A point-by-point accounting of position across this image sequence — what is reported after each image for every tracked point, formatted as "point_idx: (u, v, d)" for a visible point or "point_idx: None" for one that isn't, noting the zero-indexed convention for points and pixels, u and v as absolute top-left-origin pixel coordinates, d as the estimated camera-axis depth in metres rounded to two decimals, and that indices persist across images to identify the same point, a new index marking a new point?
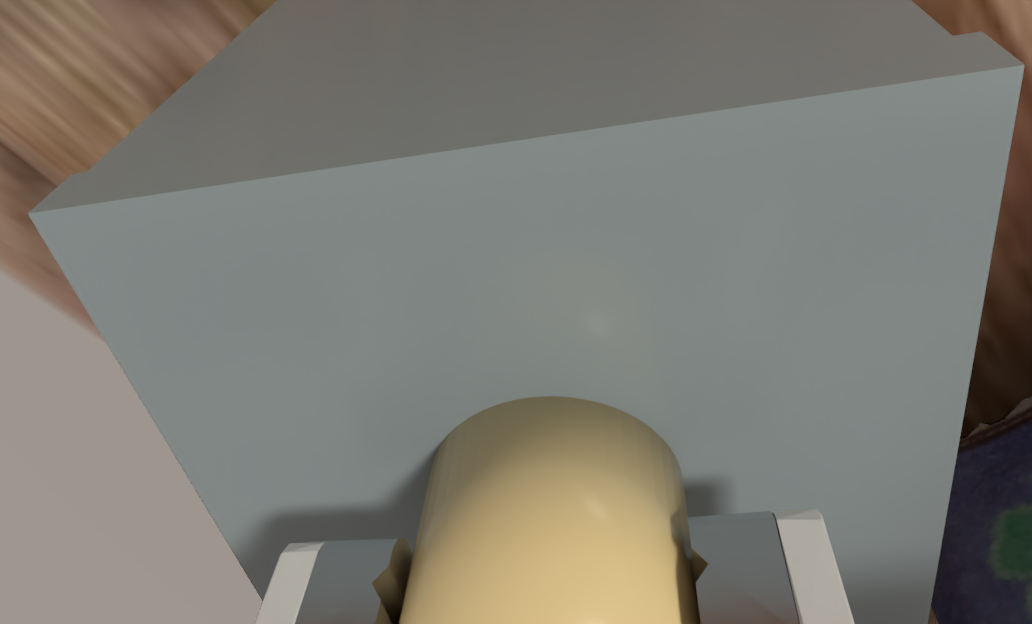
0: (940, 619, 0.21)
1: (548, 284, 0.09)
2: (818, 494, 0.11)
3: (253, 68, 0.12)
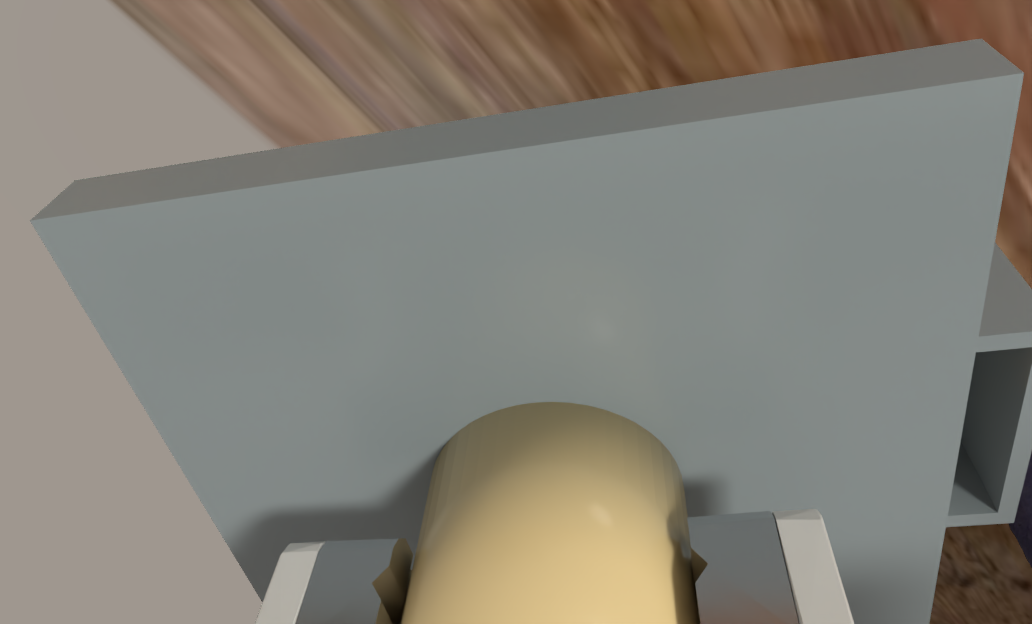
0: (1020, 541, 0.40)
1: (548, 290, 0.09)
2: (818, 499, 0.11)
3: None
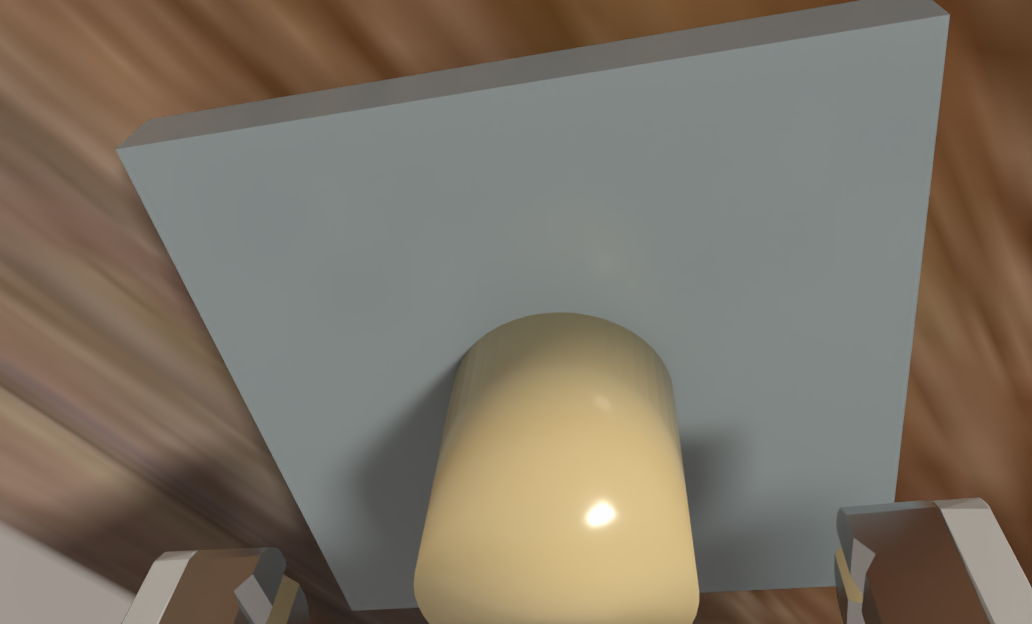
0: None
1: (557, 209, 0.11)
2: (791, 402, 0.13)
3: None
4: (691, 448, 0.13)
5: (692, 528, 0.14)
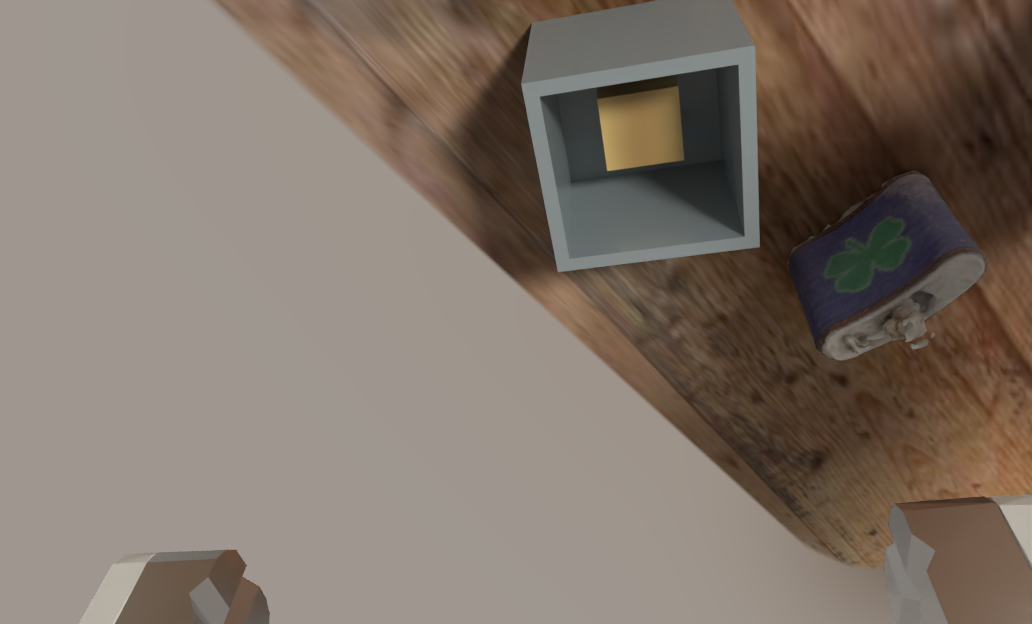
0: (803, 304, 0.47)
1: None
2: None
3: (547, 55, 0.38)
4: None
5: None
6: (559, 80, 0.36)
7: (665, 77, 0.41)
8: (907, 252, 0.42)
